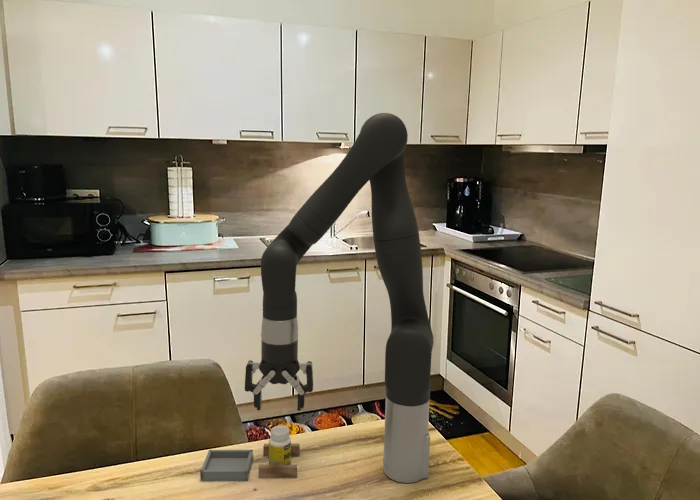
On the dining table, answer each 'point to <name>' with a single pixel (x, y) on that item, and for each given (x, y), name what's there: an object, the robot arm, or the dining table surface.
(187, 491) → the dining table surface
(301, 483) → the dining table surface
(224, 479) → the tray
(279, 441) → the supplement bottle
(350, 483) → the dining table surface
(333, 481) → the dining table surface
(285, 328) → the robot arm
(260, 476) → the slot rails
